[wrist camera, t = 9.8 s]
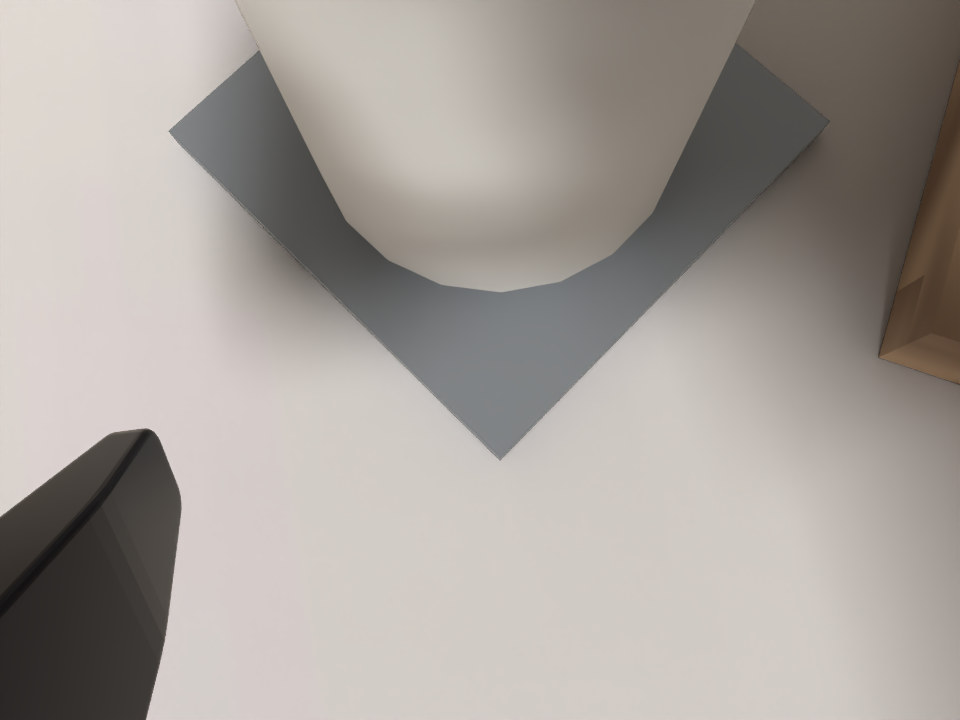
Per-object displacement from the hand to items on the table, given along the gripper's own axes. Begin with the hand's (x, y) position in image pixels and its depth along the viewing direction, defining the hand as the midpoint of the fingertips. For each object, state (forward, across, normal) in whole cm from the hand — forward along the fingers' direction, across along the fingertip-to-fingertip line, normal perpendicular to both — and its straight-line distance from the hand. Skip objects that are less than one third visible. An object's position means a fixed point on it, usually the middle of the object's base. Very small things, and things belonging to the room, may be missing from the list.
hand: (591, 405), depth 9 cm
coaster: (+11, 0, +1) cm, 11 cm away
